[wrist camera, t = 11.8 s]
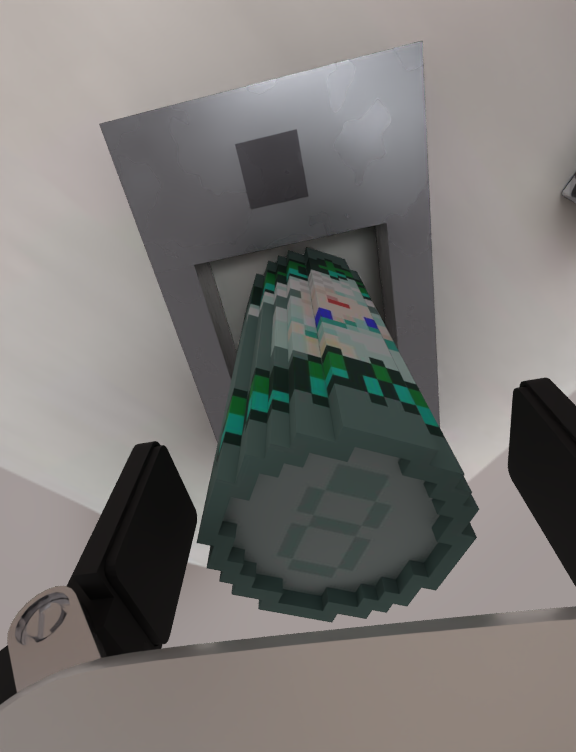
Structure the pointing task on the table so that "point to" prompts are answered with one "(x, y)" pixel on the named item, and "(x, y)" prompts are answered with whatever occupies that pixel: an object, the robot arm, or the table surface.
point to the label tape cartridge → (571, 190)
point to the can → (329, 456)
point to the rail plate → (286, 196)
